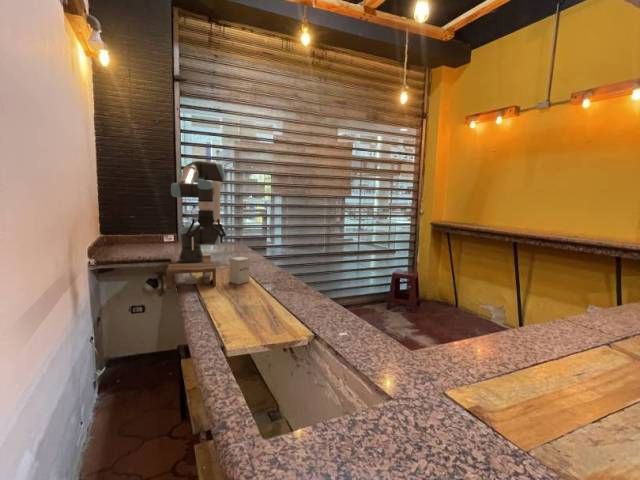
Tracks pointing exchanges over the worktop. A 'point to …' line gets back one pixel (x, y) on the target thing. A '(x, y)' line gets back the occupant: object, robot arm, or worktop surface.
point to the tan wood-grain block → (206, 274)
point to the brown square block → (190, 279)
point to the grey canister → (239, 270)
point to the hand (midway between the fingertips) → (206, 249)
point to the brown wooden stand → (189, 270)
